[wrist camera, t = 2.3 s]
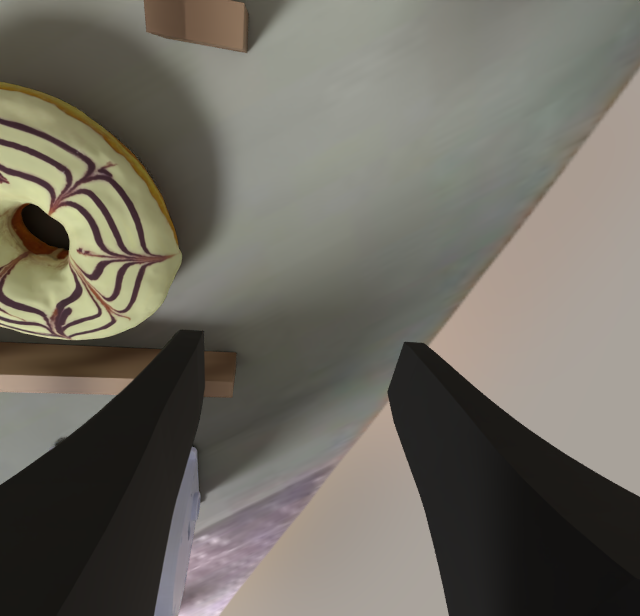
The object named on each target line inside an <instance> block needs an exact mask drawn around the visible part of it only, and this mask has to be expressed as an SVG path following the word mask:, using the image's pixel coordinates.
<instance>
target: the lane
mask: <svg viewBox="0 0 640 616" xmlns="http://www.w3.org/2000/svg"><path fill="white" fill-rule="evenodd" d="M144 8H145V20H146V32H149V33H152V34H155V35H158V36H161V37H164V38H167V39H173V40H178V41H184V42H189V43H195V44H200V45H206V46H211V47H217V48H222V49H228V50H233V51H239V52H244V53H247V49H248V21H249V14H248V11H247V9H246V6H245V4H244V3H241V2H236V1H231V0H144ZM161 350H162V349H145V348H123V347H101V346H79V345H57V344H34V343H12V342H0V392H26V393H66V394H107V395H118V394H119V393H120V392H121V391H122V390H123V389H124V388H125V387H126V386H127V385H128V384H129V383H130V382H132V381H133V380H134V378H135V377H136V376H137V375H138V374H139V373H140V372H141V371H142V370H143V369H144V368H145V367H146V366H147V365H148V364H149V363H150V362H151V361H152V360H153V359H154V358H155V357H156V356H157V354H158V353H159V352H160V351H161ZM236 356H237V353H233V352H211V351H204V360H205V390H204V396H203V397H229V398H232V396H233V388H234V380H235V372H236Z"/></svg>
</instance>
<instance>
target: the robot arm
mask: <svg viewBox="0 0 640 616" xmlns="http://www.w3.org/2000/svg"><path fill="white" fill-rule="evenodd" d="M204 390H205V360H204V331H194V330H180V331H178V332H177V333H176V334H175V335H174V336H173V337H172V339H171V340H170V341H169V342H168V343H167V344H166V346H165V347H164V348H163V349H162V350H161V351H160V352H159V353H158V354H157V356H156V357H155V358H154V359H153V360H152V361H151V362H150V363H149V364H148V365H147V366H146V367H145V368H144V369H143V370H142V371H141V372H140V373H139V374H138V375H137V376H136V377H135V378H134V380H133V381H132V382H130V383H129V384H128V385H127V386H126V387H125V388H124V389H123V390H122V391H121V392H120V393H119V394H118V395H117V396H115V397H114V398H113V399H112V400H111V401H110V402H109V403H108V404H107V405H106V406H105V407H104V408H102V409H101V410H100V411H99V412H98V413H97V414H95V415H94V416H93V417H92V418H91V419H90V420H88V421H87V422H86V423H85V424H83V425H82V426H81V427H80V428H78V429H77V430H76V431H75V432H73V433H72V434H71V435H70V436H68V437H67V438H66V439H65V440H63V441H62V442H61V443H59V444H58V445H57V446H53V447H51V448H50V449H49V451H48V452H47V453H46V454H44V455H43V456H41V457H40V458H39V459H37V460H36V461H35V462H33V463H32V464H30V465H29V466H27V467H26V468H25V469H23V470H22V471H20V472H19V473H17V474H16V475H15V476H13V477H12V478H10V479H9V480H7V481H6V482H4V483H3V484H1V485H0V616H178V613H179V610H180V606H181V601H182V597H183V592H184V587H185V581H186V576H187V570H188V564H189V558H190V552H191V547H192V541H193V535H194V529H195V523H196V520H197V519H198V515H199V509H200V499H201V494H200V492H199V481H198V459H197V449H196V448H195V447H192V445H193V441H194V438H195V434H196V431H197V427H198V424H199V420H200V414H201V409H202V403H203V396H204ZM387 392H388V397H389V402H390V406H391V411H392V416H393V420H394V424H395V427H396V430H397V433H398V435H399V438H400V441H401V444H402V447H403V449H404V452H405V455H406V458H407V461H408V463H409V466H410V469H411V472H412V474H413V477H414V480H415V483H416V485H417V488H418V491H419V494H420V497H421V500H422V503H423V507H424V510H425V513H426V517H427V521H428V525H429V529H430V533H431V537H432V541H433V545H434V549H435V553H436V558H437V562H438V566H439V570H440V575H441V579H442V584H443V588H444V593H445V598H446V603H447V608H448V613H449V616H640V497H639V496H637V495H635V494H634V493H631V492H630V491H628V490H626V489H624V488H622V487H621V486H619V485H617V484H615V483H613V482H612V481H610V480H608V479H606V478H605V477H603V476H601V475H599V474H598V473H595V472H594V471H593V470H591V469H589V468H587V467H586V466H584V465H583V464H581V463H579V462H578V461H576V460H574V459H573V458H571V457H569V456H568V455H566V454H565V453H563V452H561V451H560V450H558V449H557V448H555V447H554V446H552V445H551V444H549V443H548V442H547V441H545V440H544V439H542V438H541V437H539V436H538V435H536V434H535V433H533V432H532V431H530V430H529V429H528V428H526V427H525V426H524V425H522V424H521V423H519V422H518V421H517V420H515V419H514V418H513V417H511V416H510V415H509V414H508V413H506V412H505V411H504V410H503V409H501V408H500V407H499V406H497V405H496V404H495V403H494V402H492V401H491V400H490V399H489V398H487V397H486V396H485V395H483V393H481V392H480V391H479V390H478V389H477V388H475V387H474V386H473V385H472V384H471V383H470V382H468V381H467V380H466V379H465V378H464V377H463V376H462V375H460V374H459V373H458V372H457V371H456V370H455V369H454V368H453V367H451V366H450V365H449V364H448V363H447V362H446V361H445V360H443V359H442V358H441V357H440V356H439V355H438V354H436V353H435V352H434V351H433V350H432V349H431V348H429V347H428V346H427V345H425V344H424V343H415V342H404V344H403V347H402V350H401V353H400V356H399V359H398V362H397V365H396V368H395V371H394V374H393V377H392V380H391V383H390V386H389V389H388V391H387Z"/></svg>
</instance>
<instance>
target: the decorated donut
mask: <svg viewBox="0 0 640 616" xmlns="http://www.w3.org/2000/svg"><path fill="white" fill-rule="evenodd" d="M31 203H32V204H35V205H37V206H39V207H40V208H41V209H42V210H43V211H44V212H46V213H47V214H48V215H49V216H51V217H52V218H54V219H55V220H57V221H59V222H60V223H61V224H62V225H63V226H64V227H65V229H66V231H67V233H68V236H69V240H70V247H69V250H65V249H64V248H58V247H54V246H49V245H47V244H46V243H45V242H42V241H40V240H39V238H36V237H35V236H34V235H33V234H32V233H30V232H29V230H28V229H27V228H26V226H25V225H24V223H23V220H22V215H21V212H22V209H23V208H25V207H26V206H27V205H29V204H31ZM181 261H182V253H181V251H180V250H179V247H178V238H177V235H176V231H175V228H174V226H173V223H172V221H171V219H170V216H169V212H168V210H167V208H166V205H165V203H164V199H163V197H162V195H161V194H160V192H159V190H158V189H157V187H156V185H155V184H154V182H153V180H152V178H151V177H150V176H149V174H148V173H147V171H146V169H145V167H144V166H143V165H142V164H141V163H140V161H139V160H138V159H137V158H136V157H135V155H134V154H133V153H132V152H131V151H130V150H129V149H128V148H127V147H125V146H124V145H123V144H122V143H121V142H120V141H119V140H118V139H117V138H116V137H114V136H113V135H112V134H111V133H110V132H108V131H106V130H105V129H104V128H103V127H102V126H101V125H99V124H98V123H97V122H95V121H93V120H92V119H91V118H89V117H87V116H86V114H84V113H83V112H82V111H80V110H78V109H77V108H76V107H73V106H71V105H70V104H68V103H66V102H64V101H62V100H60V99H58V98H55V97H53V96H51V95H48V94H46V93H43V92H39V91H36V90H33V89H30V88H25V87H22V86H18V85H14V84H9V83H5V82H0V327H4V328H9V329H13V330H16V331H19V332H22V333H26V334H31V335H36V336H41V337H46V338H54V339H64V340H88V339H97V338H105V337H109V336H113V335H116V334H118V333H121V332H124V331H126V330H128V329H130V328H134V327H136V326H137V325H138V324H140V323H141V322H143V321H144V320H146V319H147V318H148V317H150V316H151V315H152V314H153V313H154V312H155V311H156V310H157V309H158V308H159V307H160V306H161V305H162V303H163V302H164V300H165V298H166V296H167V294H168V290H169V288H170V286H171V284H172V282H173V280H174V278H175V275H176V272H177V271H178V269H179V267H180V265H181Z"/></svg>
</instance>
